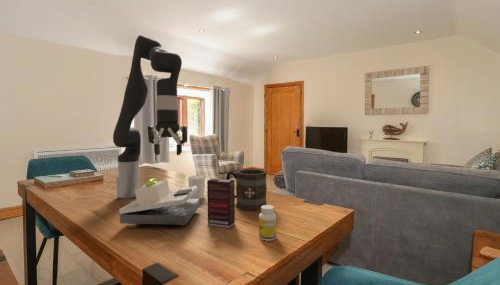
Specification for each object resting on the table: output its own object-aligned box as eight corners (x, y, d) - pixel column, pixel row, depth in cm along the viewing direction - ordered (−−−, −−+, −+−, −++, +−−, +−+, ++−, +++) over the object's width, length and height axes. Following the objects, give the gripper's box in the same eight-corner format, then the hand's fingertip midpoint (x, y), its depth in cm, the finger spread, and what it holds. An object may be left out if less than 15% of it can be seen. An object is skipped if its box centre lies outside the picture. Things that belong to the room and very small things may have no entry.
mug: (272, 204, 119) (273, 170, 118) (257, 213, 107) (257, 176, 106) (235, 198, 129) (235, 167, 128) (217, 205, 117) (217, 171, 116)
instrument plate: (120, 213, 91) (115, 189, 90) (145, 197, 111) (141, 177, 110) (184, 203, 89) (179, 179, 89) (198, 189, 109) (194, 168, 109)
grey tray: (120, 229, 91) (120, 214, 91) (146, 210, 111) (145, 198, 111) (185, 230, 90) (185, 215, 90) (199, 211, 110) (199, 199, 110)
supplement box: (235, 223, 96) (235, 179, 95) (229, 228, 92) (229, 182, 91) (213, 220, 99) (213, 177, 98) (207, 225, 95) (206, 180, 93)
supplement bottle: (257, 234, 87) (257, 204, 86) (274, 233, 88) (274, 204, 87) (259, 241, 82) (260, 209, 81) (277, 241, 82) (278, 209, 82)
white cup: (207, 195, 134) (206, 175, 133) (202, 200, 126) (202, 178, 125) (191, 195, 134) (191, 175, 134) (186, 199, 127) (185, 178, 126)
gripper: (143, 108, 94) (144, 156, 95) (184, 108, 94) (184, 156, 95) (151, 109, 102) (153, 153, 103) (189, 109, 101) (190, 153, 102)
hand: (168, 154), depth 99 cm, fingers open, 7 cm apart
